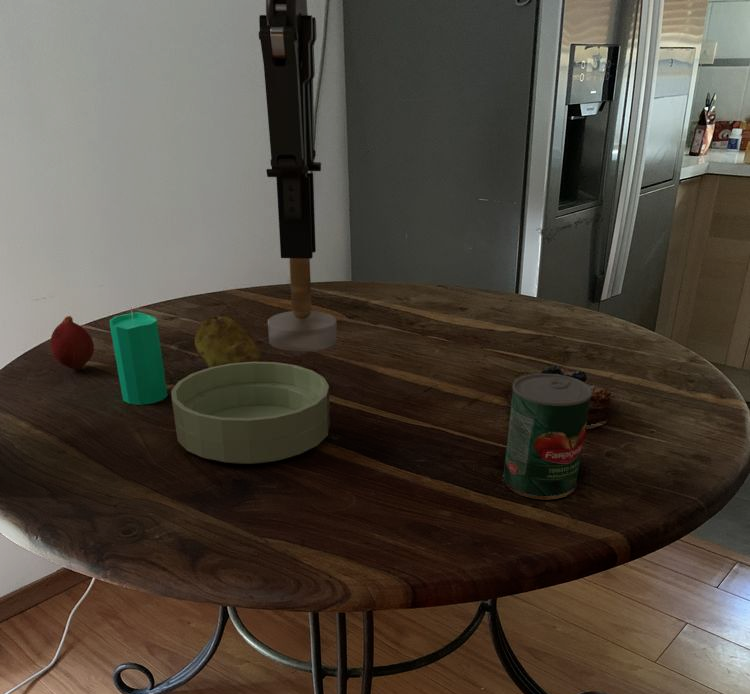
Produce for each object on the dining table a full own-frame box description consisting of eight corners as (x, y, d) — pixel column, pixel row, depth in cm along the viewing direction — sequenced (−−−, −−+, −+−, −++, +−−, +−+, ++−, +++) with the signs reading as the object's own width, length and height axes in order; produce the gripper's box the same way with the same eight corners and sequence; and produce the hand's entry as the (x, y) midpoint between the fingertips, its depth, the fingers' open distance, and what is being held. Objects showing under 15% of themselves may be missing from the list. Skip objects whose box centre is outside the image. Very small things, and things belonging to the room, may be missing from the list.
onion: (65, 380, 104) (53, 325, 100) (49, 369, 108) (37, 315, 104) (104, 370, 108) (94, 316, 104) (87, 360, 111) (77, 308, 107)
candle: (128, 387, 102) (113, 301, 96) (172, 387, 102) (160, 301, 96) (117, 404, 97) (100, 314, 91) (163, 404, 97) (149, 314, 91)
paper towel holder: (263, 351, 67) (250, 159, 59) (274, 329, 72) (263, 151, 64) (334, 352, 66) (329, 160, 58) (339, 331, 72) (336, 152, 64)
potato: (210, 396, 100) (204, 339, 96) (194, 365, 110) (188, 312, 106) (270, 388, 102) (266, 332, 98) (249, 359, 113) (244, 307, 109)
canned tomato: (558, 508, 75) (574, 409, 69) (489, 486, 79) (499, 390, 73) (587, 478, 81) (603, 384, 75) (521, 459, 84) (532, 368, 79)
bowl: (158, 466, 82) (150, 417, 79) (199, 403, 98) (194, 359, 95) (320, 471, 81) (319, 422, 78) (335, 406, 97) (335, 363, 94)
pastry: (543, 437, 89) (549, 392, 86) (496, 401, 99) (501, 359, 96) (619, 426, 93) (627, 382, 90) (567, 391, 102) (573, 351, 99)
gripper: (325, -100, 47) (333, 275, 59) (343, -64, 60) (346, 238, 72) (209, -100, 47) (240, 273, 59) (251, -64, 60) (270, 237, 72)
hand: (298, 253), depth 65 cm, fingers closed on paper towel holder, 2 cm apart
